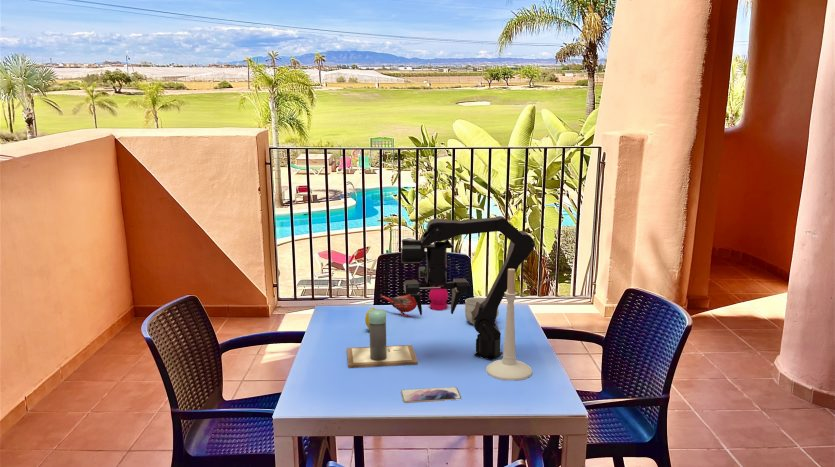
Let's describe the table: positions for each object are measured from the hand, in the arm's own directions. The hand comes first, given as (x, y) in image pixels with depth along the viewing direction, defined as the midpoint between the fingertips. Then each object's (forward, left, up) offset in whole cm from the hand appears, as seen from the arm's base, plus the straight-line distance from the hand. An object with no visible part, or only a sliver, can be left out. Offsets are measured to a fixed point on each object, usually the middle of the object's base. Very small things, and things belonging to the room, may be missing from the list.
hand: (436, 314), depth 195 cm
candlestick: (-23, -3, -13) cm, 27 cm away
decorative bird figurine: (+33, -24, -13) cm, 43 cm away
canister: (+11, +13, -12) cm, 21 cm away
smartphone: (-15, +23, -14) cm, 31 cm away
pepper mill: (+28, -40, -13) cm, 51 cm away
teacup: (+5, -34, -13) cm, 37 cm away
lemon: (+30, -6, -13) cm, 33 cm away
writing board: (+12, +10, -13) cm, 21 cm away
